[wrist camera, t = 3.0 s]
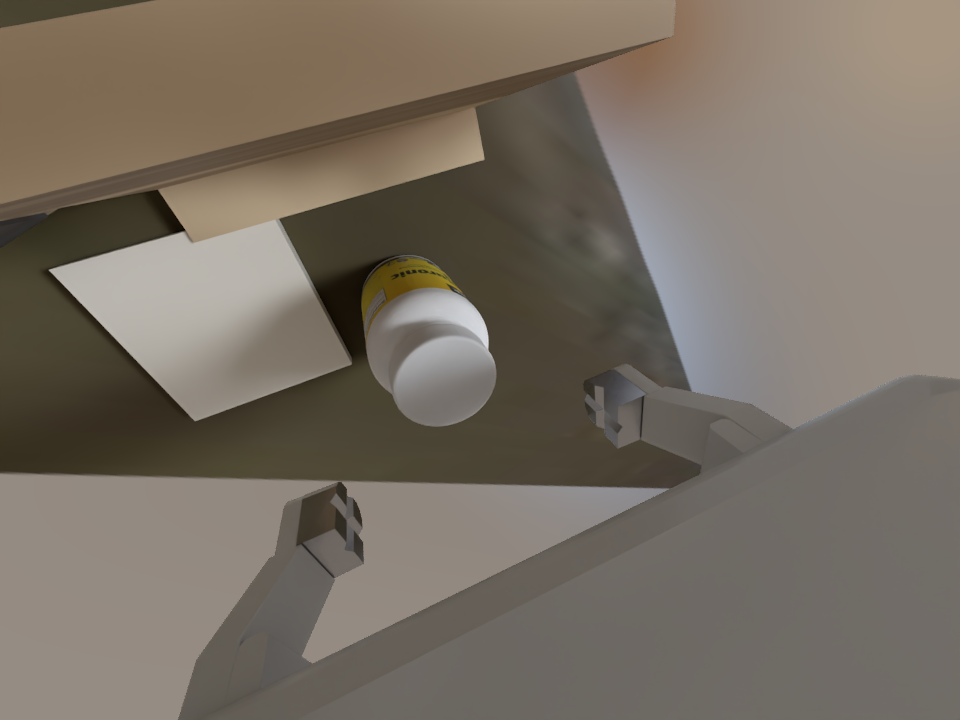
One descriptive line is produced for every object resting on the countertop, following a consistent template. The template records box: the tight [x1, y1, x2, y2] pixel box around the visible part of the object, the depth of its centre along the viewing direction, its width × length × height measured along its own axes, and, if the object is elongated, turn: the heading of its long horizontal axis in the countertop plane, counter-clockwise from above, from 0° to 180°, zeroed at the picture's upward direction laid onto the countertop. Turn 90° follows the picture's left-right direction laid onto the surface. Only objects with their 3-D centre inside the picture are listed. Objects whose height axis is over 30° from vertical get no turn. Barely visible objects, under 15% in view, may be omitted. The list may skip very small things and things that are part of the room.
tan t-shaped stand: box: [0, 0, 676, 243], centre depth 10 cm, size 6×14×13 cm, turn 103°
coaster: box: [49, 219, 352, 421], centre depth 18 cm, size 9×9×1 cm
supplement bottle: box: [361, 255, 496, 426], centre depth 17 cm, size 5×5×10 cm
